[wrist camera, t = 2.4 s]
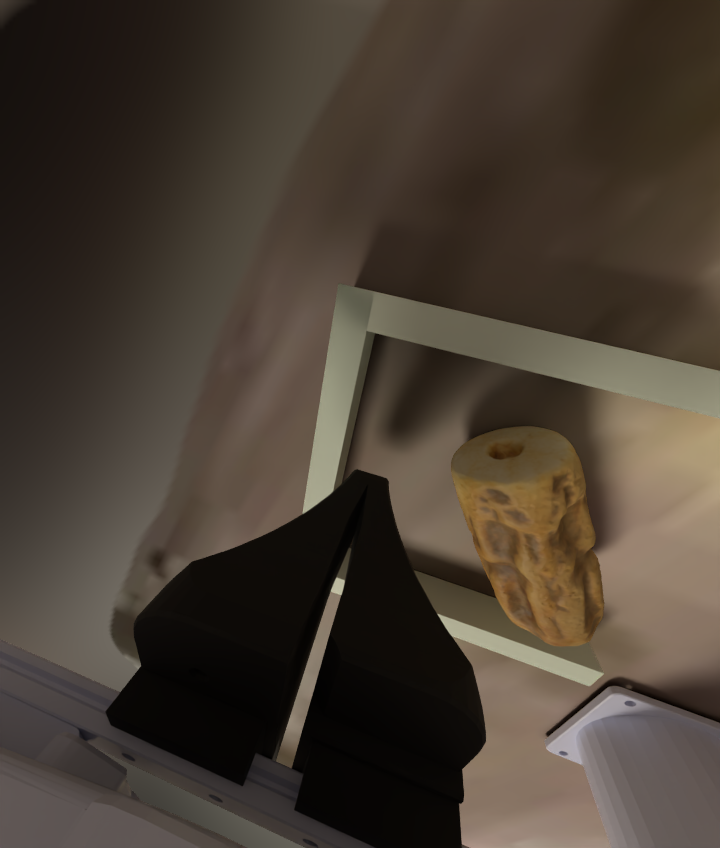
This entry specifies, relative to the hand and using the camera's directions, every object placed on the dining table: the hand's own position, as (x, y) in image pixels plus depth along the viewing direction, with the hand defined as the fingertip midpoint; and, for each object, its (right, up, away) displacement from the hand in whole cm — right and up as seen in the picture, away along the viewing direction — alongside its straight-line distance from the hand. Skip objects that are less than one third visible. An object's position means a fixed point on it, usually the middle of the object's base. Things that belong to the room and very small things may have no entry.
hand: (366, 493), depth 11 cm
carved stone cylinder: (+7, -1, +2) cm, 7 cm away
